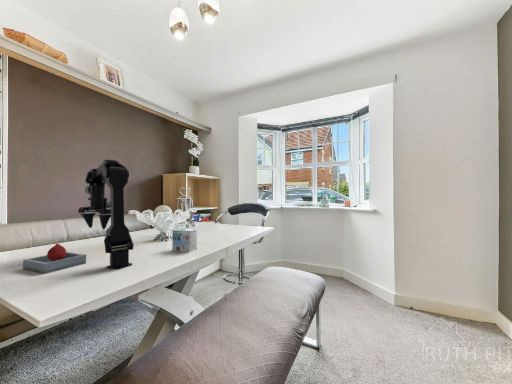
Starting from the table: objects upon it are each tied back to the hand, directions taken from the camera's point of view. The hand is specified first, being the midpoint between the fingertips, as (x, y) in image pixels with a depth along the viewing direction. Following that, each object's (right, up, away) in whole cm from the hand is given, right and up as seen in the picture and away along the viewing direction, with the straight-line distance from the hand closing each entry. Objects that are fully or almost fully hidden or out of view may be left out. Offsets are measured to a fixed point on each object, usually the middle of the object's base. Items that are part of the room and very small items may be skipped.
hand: (97, 228), depth 111 cm
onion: (-3, -11, -19) cm, 22 cm away
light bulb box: (+40, -13, +8) cm, 43 cm away
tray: (-3, -12, -19) cm, 23 cm away
